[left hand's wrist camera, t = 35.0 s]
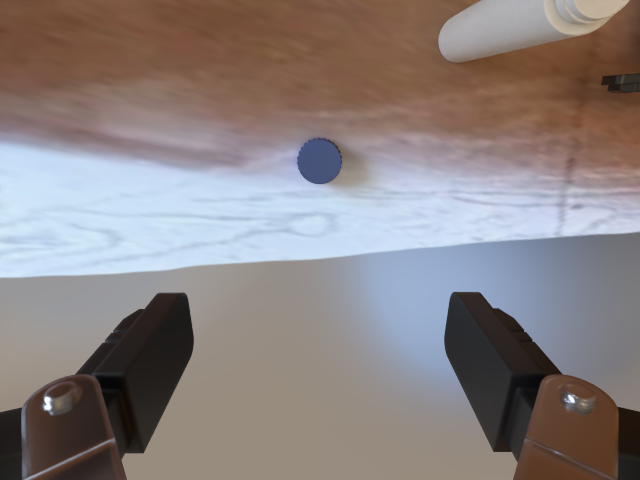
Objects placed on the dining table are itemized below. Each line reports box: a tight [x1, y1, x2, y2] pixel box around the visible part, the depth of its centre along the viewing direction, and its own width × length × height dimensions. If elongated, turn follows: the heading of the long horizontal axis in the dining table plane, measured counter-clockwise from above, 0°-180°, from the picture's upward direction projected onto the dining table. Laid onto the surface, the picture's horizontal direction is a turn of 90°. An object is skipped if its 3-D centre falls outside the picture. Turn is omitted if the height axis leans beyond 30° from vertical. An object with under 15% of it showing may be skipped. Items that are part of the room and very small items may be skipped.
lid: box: [297, 138, 342, 184], centre depth 39 cm, size 5×5×2 cm
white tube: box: [438, 0, 630, 63], centre depth 26 cm, size 4×4×19 cm
